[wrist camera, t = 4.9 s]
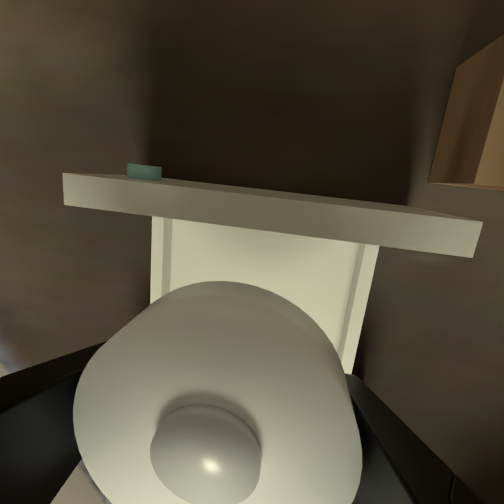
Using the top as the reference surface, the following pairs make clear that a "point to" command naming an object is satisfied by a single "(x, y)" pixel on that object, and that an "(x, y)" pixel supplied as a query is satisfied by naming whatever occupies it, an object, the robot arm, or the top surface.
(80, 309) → the top surface
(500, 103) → the pedestal
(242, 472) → the disc
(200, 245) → the tray
